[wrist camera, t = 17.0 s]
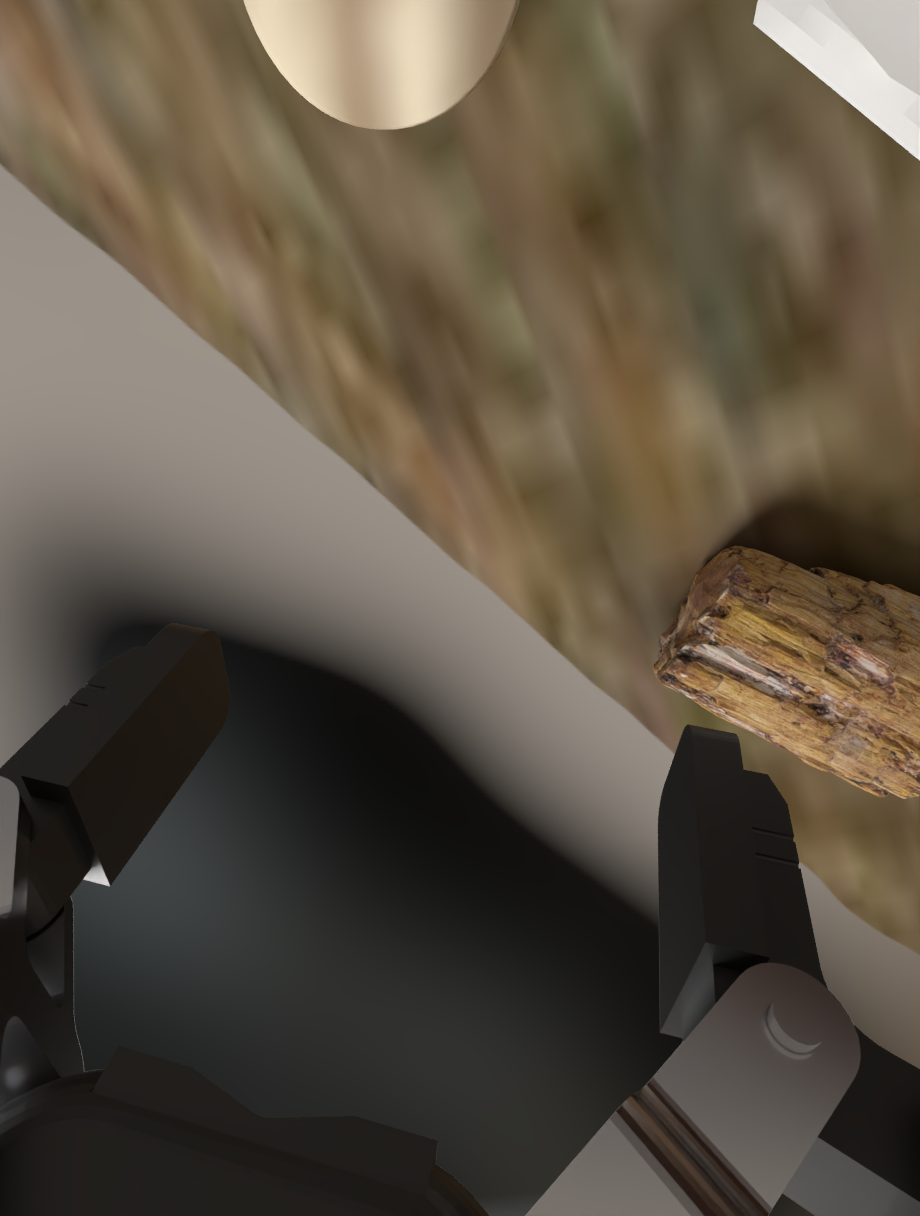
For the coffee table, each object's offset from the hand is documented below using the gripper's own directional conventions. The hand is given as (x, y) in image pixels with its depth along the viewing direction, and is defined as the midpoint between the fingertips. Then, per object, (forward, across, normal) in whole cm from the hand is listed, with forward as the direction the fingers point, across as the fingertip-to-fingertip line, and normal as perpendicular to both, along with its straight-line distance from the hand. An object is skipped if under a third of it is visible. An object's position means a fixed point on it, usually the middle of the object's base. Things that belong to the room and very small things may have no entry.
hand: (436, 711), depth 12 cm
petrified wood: (+36, -19, +20) cm, 46 cm away
